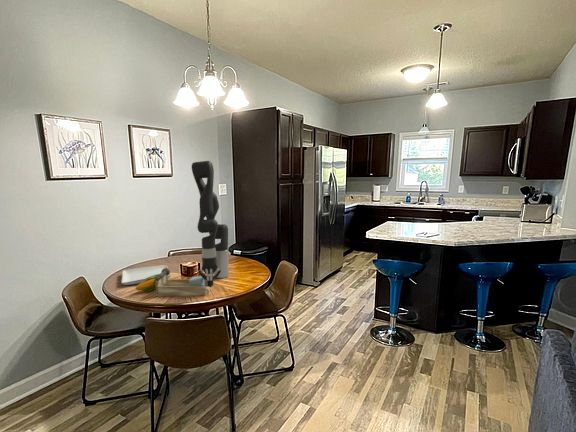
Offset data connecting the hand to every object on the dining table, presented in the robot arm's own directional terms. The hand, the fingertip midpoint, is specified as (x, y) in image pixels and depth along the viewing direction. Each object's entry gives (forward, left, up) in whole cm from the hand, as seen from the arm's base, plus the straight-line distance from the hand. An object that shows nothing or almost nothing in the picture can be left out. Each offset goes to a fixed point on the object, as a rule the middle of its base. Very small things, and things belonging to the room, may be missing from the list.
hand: (210, 286), depth 169 cm
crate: (0, -7, -1) cm, 7 cm away
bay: (0, -14, -2) cm, 15 cm away
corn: (-5, -34, -3) cm, 34 cm away
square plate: (-26, -47, -3) cm, 54 cm away
